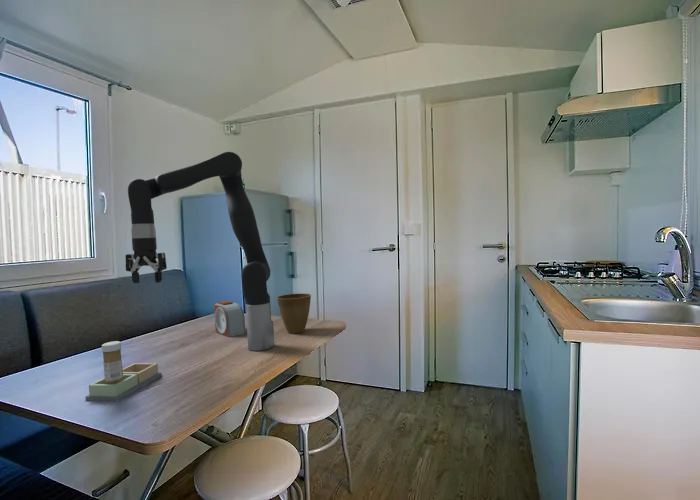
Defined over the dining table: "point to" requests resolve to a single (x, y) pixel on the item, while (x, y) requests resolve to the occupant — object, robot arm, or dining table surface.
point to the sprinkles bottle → (112, 362)
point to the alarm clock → (229, 318)
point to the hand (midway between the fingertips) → (147, 282)
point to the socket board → (124, 382)
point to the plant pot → (294, 311)
